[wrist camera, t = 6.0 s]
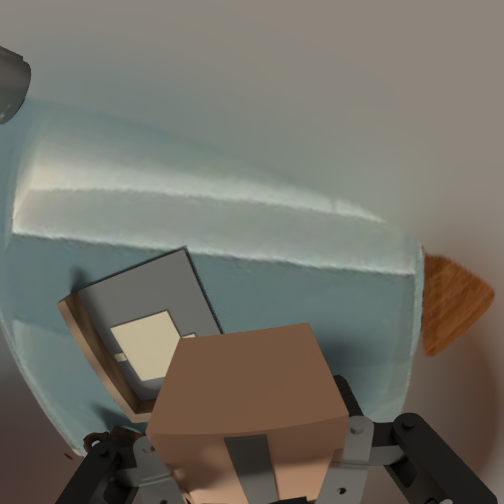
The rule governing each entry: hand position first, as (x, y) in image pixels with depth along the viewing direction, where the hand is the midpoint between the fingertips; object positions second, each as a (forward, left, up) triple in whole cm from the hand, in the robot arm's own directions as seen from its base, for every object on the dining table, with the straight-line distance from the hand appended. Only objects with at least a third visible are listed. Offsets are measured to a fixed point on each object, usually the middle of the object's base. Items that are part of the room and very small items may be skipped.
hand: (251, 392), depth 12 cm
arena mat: (+2, -11, -15) cm, 19 cm away
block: (0, 0, -1) cm, 1 cm away
